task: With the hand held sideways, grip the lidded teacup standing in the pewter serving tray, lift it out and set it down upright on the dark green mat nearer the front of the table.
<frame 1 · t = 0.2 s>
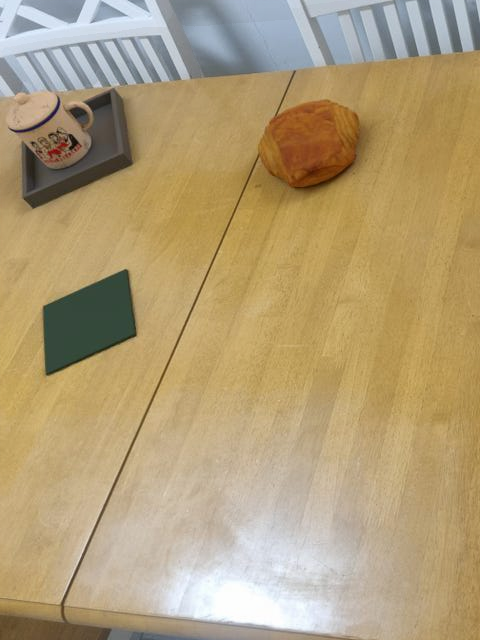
mat: (89, 321, 102), on the table
croissant: (316, 158, 110), on the table
tray: (79, 151, 125), on the table
teacup with lid: (78, 149, 124), resting on tray
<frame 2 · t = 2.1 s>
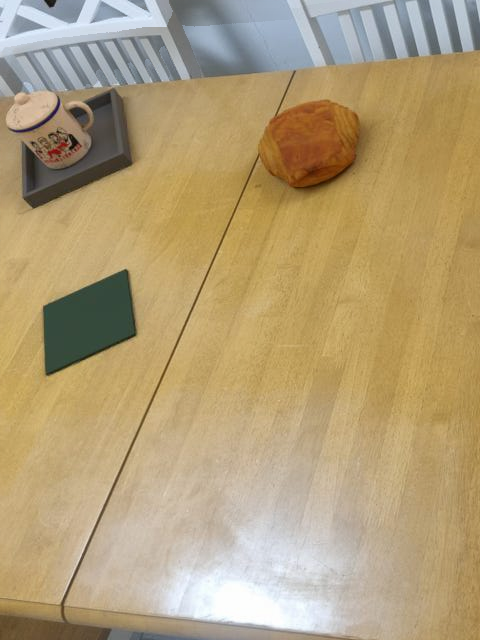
hand: (6, 10, 113), 20 cm above the table, tool horizontal, fingers open, 13 cm apart
nothing on the table moved.
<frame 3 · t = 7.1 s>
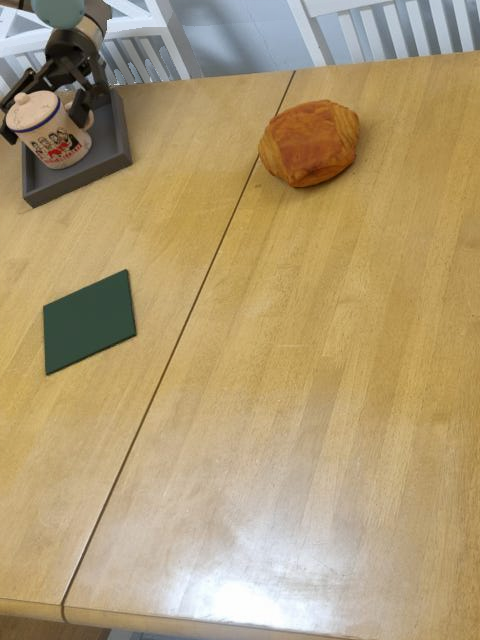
hand: (41, 130, 116), 8 cm above the table, tool horizontal, fingers closed on teacup with lid, 12 cm apart
teacup with lid: (78, 149, 124), resting on tray, touching gripper
everything else where it was.
when the fingers open (8 cm above the table, at t = 18.0 s): teacup with lid stays where it is, resting on mat.
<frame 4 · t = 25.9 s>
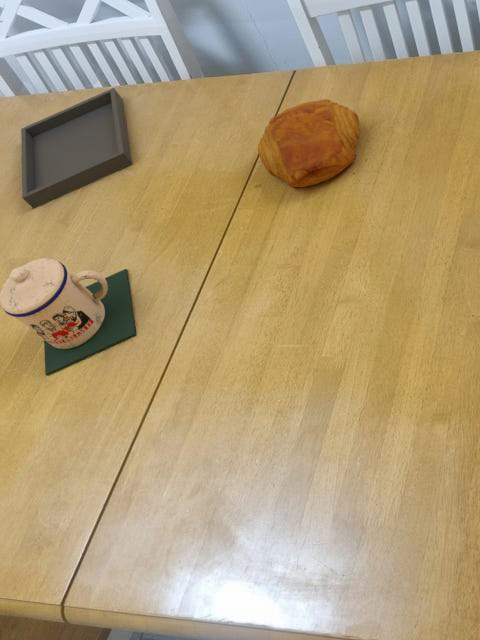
teacup with lid: (88, 320, 102), resting on mat
everything else where it was.
at the end: teacup with lid inside the target area on the mat (0.1 cm from its centre), point 0.2 cm above the mat's base; teacup with lid tilted 0°; teacup with lid touching mat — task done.
